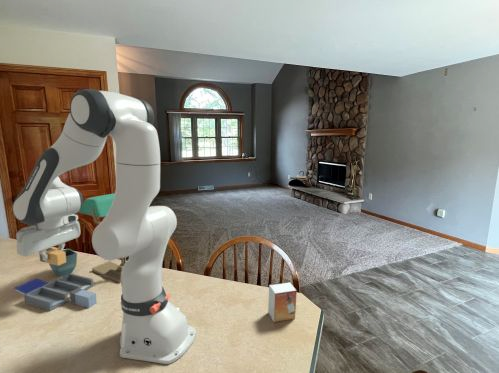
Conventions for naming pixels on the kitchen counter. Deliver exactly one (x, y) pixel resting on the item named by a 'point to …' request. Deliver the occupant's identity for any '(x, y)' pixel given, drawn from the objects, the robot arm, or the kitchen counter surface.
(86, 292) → the slate-blue plug
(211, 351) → the kitchen counter surface
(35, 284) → the hard drive
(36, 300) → the grey compartment tray
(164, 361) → the robot arm
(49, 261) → the orange plug
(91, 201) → the banker's lamp
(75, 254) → the flower pot
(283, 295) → the small box
